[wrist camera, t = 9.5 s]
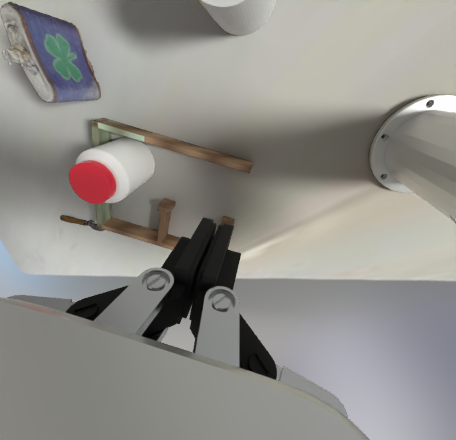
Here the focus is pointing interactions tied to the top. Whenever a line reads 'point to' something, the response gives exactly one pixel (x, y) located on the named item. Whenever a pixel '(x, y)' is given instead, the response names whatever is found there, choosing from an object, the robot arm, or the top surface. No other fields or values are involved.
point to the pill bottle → (111, 170)
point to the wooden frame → (161, 237)
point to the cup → (239, 14)
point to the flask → (49, 55)
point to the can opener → (80, 222)
